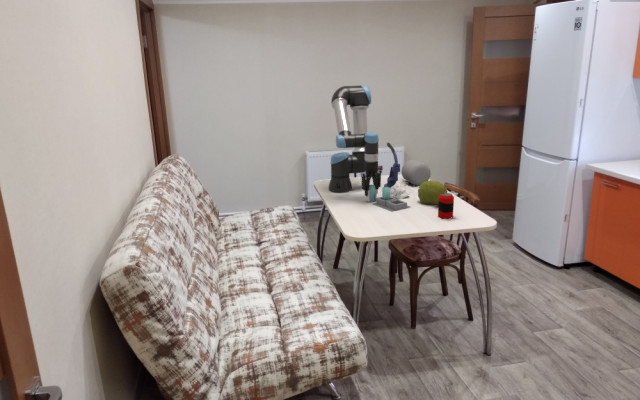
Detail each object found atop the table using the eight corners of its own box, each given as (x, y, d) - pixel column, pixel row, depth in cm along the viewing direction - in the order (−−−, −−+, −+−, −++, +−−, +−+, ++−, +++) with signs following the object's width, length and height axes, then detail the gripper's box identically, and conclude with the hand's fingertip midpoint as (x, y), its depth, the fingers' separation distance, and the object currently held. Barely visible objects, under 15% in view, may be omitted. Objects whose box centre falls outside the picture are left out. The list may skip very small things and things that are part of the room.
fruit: (442, 199, 272) (452, 179, 262) (440, 215, 262) (451, 195, 252) (415, 190, 273) (424, 170, 263) (413, 205, 262) (422, 185, 252)
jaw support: (410, 196, 268) (397, 184, 268) (399, 207, 271) (386, 195, 271) (411, 191, 280) (399, 179, 280) (400, 201, 283) (388, 190, 283)
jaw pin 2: (380, 203, 265) (380, 187, 262) (386, 202, 267) (386, 186, 264) (385, 205, 261) (385, 189, 259) (391, 203, 263) (391, 188, 261)
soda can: (441, 213, 248) (442, 191, 244) (455, 216, 243) (456, 193, 240) (435, 217, 242) (436, 194, 239) (449, 219, 238) (450, 197, 234)
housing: (371, 205, 265) (371, 198, 264) (390, 201, 272) (390, 194, 270) (391, 213, 250) (391, 206, 249) (411, 208, 257) (412, 201, 256)
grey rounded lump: (400, 180, 298) (390, 166, 321) (413, 195, 304) (403, 181, 326) (423, 160, 294) (412, 148, 317) (436, 176, 300) (424, 163, 323)
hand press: (403, 191, 291) (404, 146, 283) (389, 192, 289) (390, 147, 281) (393, 184, 309) (394, 142, 301) (380, 185, 307) (381, 142, 299)
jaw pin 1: (365, 200, 270) (365, 185, 268) (371, 199, 273) (371, 184, 270) (370, 202, 267) (370, 187, 264) (376, 201, 269) (376, 185, 266)
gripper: (362, 164, 255) (362, 204, 262) (387, 159, 264) (387, 199, 271) (354, 161, 261) (354, 201, 268) (379, 157, 270) (379, 196, 277)
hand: (371, 200), depth 270 cm, fingers closed on jaw pin 1, 4 cm apart
